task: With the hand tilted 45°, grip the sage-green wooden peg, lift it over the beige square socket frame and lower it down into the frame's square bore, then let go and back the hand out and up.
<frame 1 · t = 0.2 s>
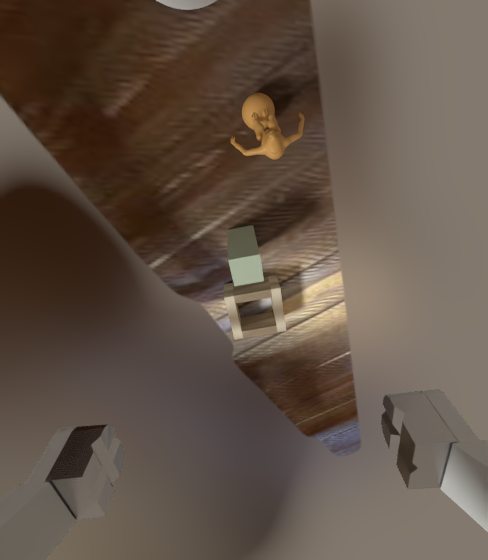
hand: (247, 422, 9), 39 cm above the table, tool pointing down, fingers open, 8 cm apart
figurine: (258, 119, 40), on the table
sage-green peg: (242, 239, 49), on the table
beige square socket frame: (254, 300, 55), on the table
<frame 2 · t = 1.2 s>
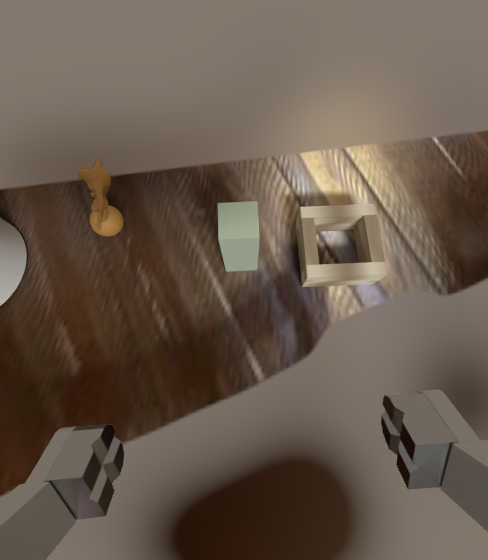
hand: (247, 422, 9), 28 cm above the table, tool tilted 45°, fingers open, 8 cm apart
figurine: (121, 227, 42), on the table
sage-green peg: (240, 256, 40), on the table
beige square socket frame: (333, 251, 40), on the table
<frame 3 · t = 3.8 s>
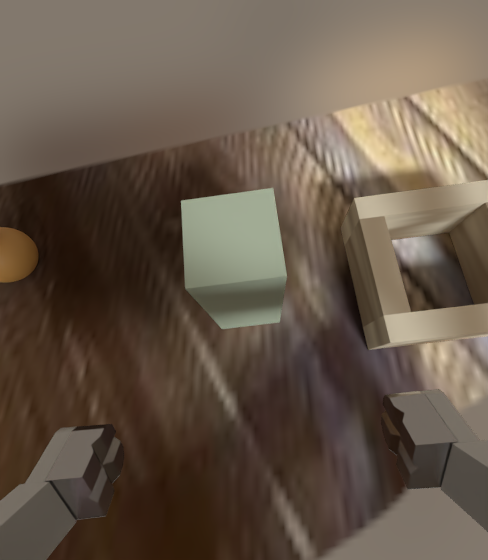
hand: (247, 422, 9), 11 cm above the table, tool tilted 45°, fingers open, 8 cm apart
figurine: (40, 262, 25), on the table
sage-green peg: (247, 297, 22), on the table
beige square socket frame: (418, 276, 22), on the table
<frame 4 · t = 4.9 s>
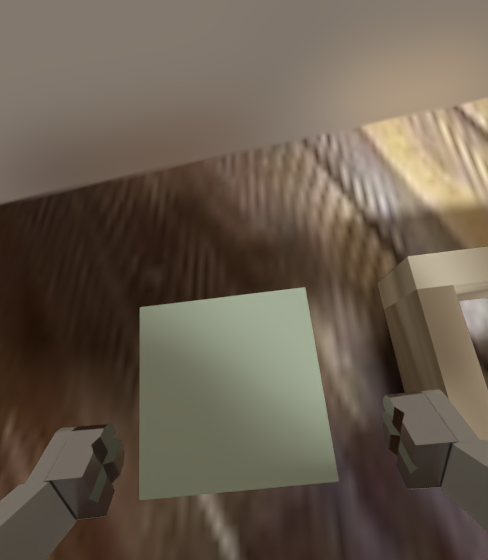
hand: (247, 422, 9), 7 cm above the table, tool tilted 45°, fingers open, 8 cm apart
sage-green peg: (252, 382, 16), on the table
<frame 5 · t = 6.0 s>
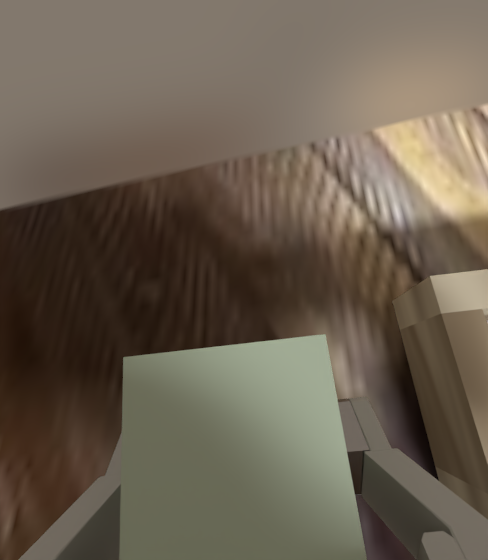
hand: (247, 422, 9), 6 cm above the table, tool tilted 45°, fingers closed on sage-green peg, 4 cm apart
sage-green peg: (256, 410, 15), on the table, touching gripper
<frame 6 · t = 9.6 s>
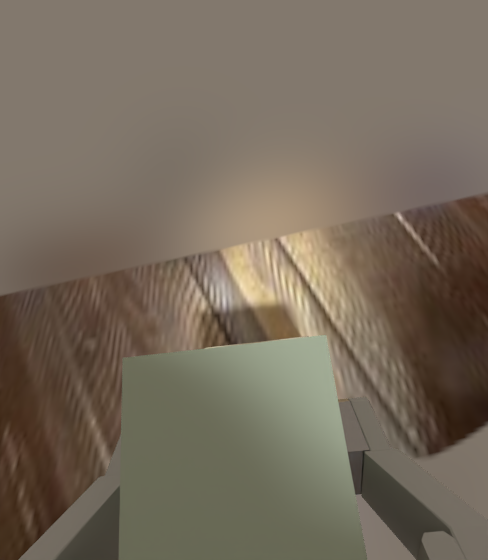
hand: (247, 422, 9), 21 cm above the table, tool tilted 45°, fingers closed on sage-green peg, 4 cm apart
sage-green peg: (256, 410, 15), point 15 cm above the table, touching gripper
when the fingers open (8 cm above the table, at t = 13.3 s): sage-green peg drops 2 cm, resting in beige square socket frame.
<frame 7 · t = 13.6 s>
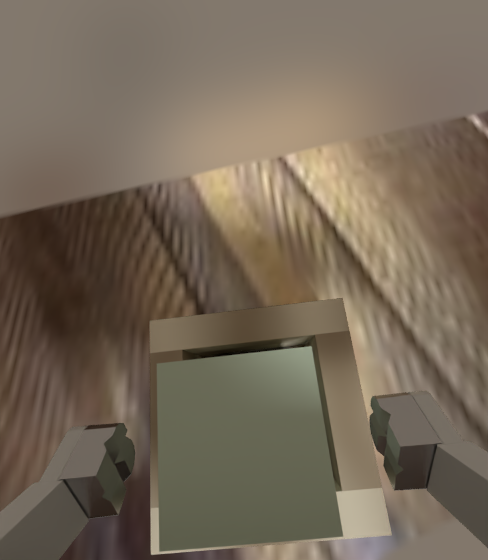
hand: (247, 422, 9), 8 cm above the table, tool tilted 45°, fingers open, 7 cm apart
sage-green peg: (258, 407, 17), resting in beige square socket frame
beige square socket frame: (259, 406, 17), on the table
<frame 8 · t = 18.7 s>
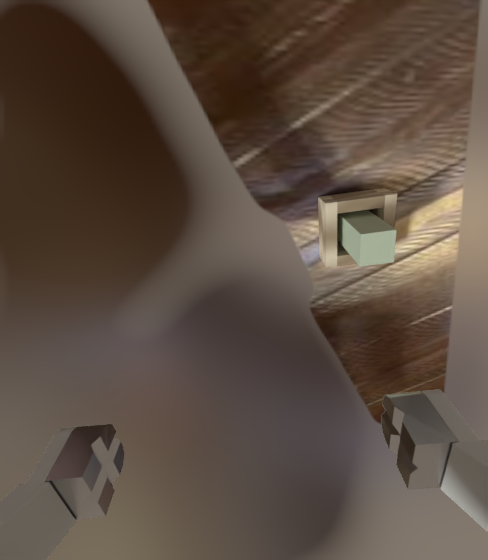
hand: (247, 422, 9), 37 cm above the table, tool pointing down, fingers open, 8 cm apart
sage-green peg: (350, 223, 45), resting in beige square socket frame
beige square socket frame: (350, 223, 45), on the table
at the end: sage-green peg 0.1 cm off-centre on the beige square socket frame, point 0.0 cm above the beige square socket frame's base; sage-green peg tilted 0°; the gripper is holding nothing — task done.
